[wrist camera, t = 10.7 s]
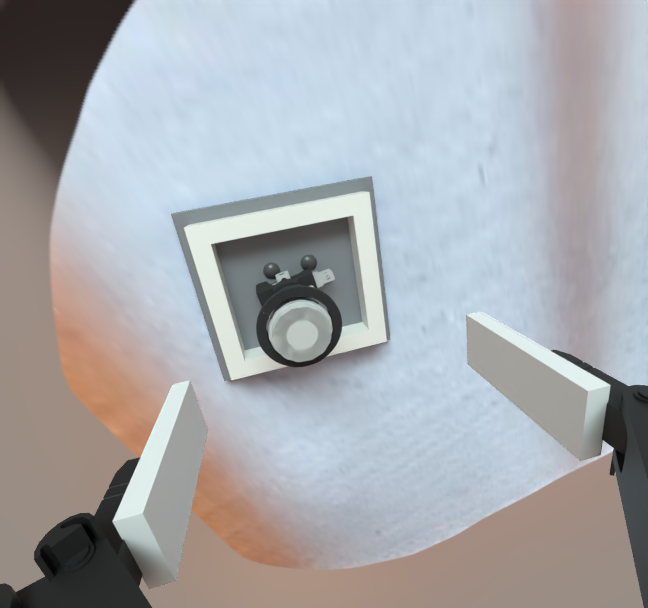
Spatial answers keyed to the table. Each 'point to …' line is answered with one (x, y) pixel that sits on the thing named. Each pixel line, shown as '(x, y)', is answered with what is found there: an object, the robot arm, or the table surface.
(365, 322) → the socket plate
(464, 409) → the table surface
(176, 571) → the robot arm
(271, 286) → the push button
